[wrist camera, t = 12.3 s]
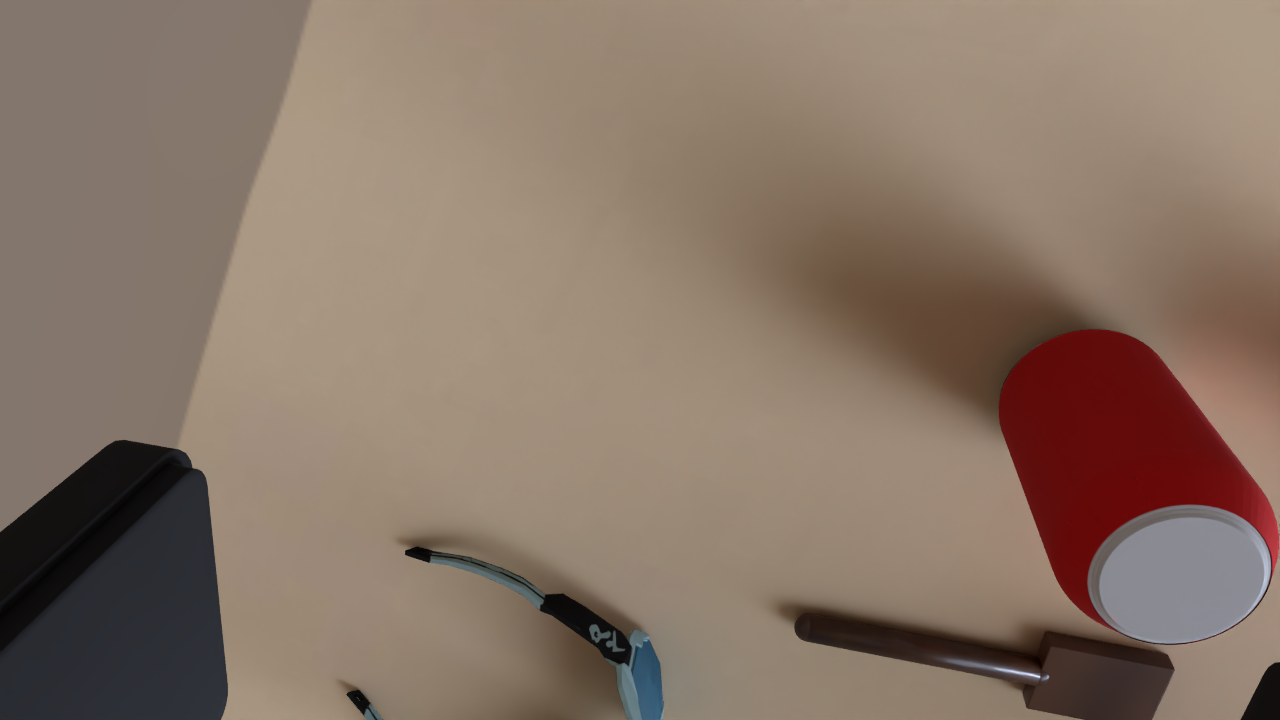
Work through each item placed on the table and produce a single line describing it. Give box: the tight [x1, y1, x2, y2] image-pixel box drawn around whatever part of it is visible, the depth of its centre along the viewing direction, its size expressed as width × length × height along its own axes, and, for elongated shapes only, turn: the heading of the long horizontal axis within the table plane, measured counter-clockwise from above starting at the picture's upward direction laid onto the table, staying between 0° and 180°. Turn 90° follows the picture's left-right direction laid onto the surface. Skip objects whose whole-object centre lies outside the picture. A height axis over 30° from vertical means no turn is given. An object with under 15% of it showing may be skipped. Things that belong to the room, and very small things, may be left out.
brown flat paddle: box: [794, 614, 1175, 720], centre depth 44 cm, size 16×4×1 cm, turn 83°
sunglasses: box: [346, 547, 664, 720], centre depth 48 cm, size 14×15×5 cm
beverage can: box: [999, 329, 1279, 645], centre depth 34 cm, size 6×6×12 cm
